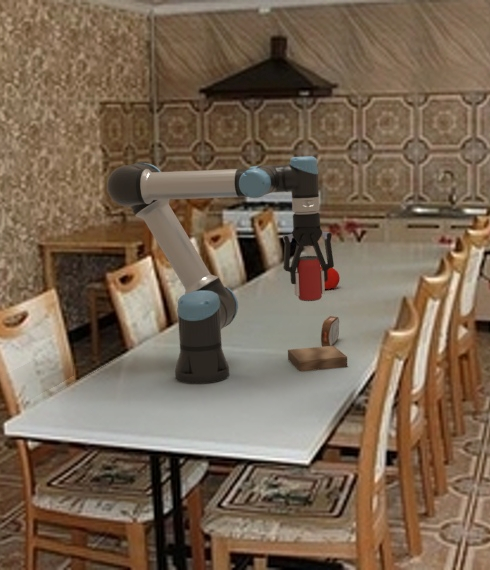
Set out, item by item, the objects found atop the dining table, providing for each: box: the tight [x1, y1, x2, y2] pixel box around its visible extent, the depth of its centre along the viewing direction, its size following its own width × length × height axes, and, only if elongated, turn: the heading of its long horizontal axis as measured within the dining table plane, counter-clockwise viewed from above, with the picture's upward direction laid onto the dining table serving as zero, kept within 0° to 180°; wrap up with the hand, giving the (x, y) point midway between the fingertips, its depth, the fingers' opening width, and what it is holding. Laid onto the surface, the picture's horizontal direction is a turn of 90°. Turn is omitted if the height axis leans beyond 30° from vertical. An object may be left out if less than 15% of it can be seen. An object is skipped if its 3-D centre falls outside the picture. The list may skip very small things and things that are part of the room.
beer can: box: [296, 255, 323, 302], centre depth 268 cm, size 7×7×12 cm
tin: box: [320, 315, 340, 347], centre depth 298 cm, size 15×3×8 cm, turn 162°
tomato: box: [320, 266, 341, 290], centre depth 393 cm, size 11×12×9 cm
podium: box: [287, 345, 348, 372], centre depth 276 cm, size 14×14×3 cm
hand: (309, 294), depth 269 cm, fingers closed on beer can, 7 cm apart
